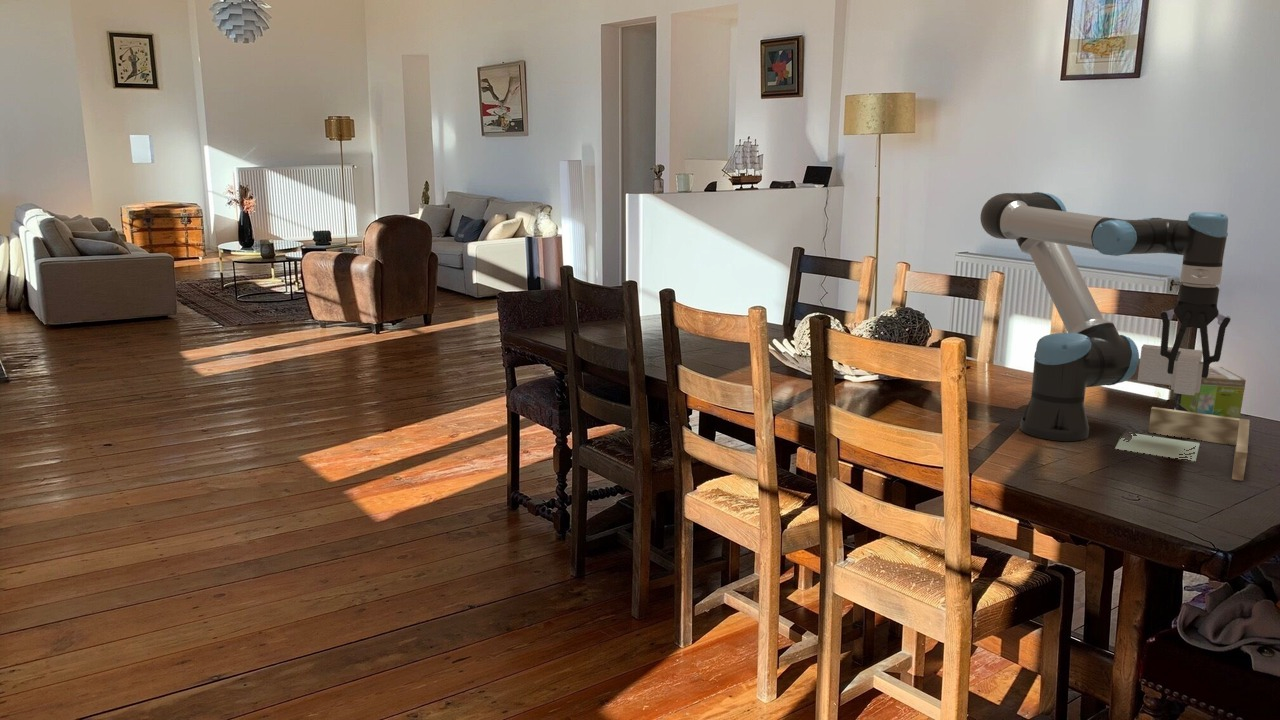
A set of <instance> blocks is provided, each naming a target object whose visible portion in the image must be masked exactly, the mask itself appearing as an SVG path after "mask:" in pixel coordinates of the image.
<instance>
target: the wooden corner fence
mask: <svg viewBox="0 0 1280 720" xmlns="http://www.w3.org/2000/svg"><path fill="white" fill-rule="evenodd" d="M1149 416H1150V417H1149V424H1148V431H1147V433H1148V432H1149V433H1148V434H1153V433H1156V434H1155V435H1160V434H1161V436H1167V435H1168V436H1169V437H1174V436H1175V437H1174V438H1181V437H1182V439H1187V438H1190V439H1189V440H1194V439H1196V440H1197V441H1201V440H1202V442H1208V443H1209V442H1210V443H1215V444H1222V445H1228V444H1229V446H1235V445H1236V446H1235V448H1234V456H1233V457H1234V458H1233V464H1232V465H1233V467H1232V474H1231V480H1235V481H1241V482H1243V481H1244V477H1245V472H1246V463H1247V457H1248V452H1249V451H1248V449H1249V447H1248V446H1249V436H1250V435H1249V433H1250V421H1251V419H1245V418H1240V419H1239V418H1232V417H1224V416H1217V415H1209V414H1202V413H1195V412H1187V411H1180V410H1174V409H1170V408H1164V407H1156V406H1152V407H1151V408H1150V415H1149Z"/></svg>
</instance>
